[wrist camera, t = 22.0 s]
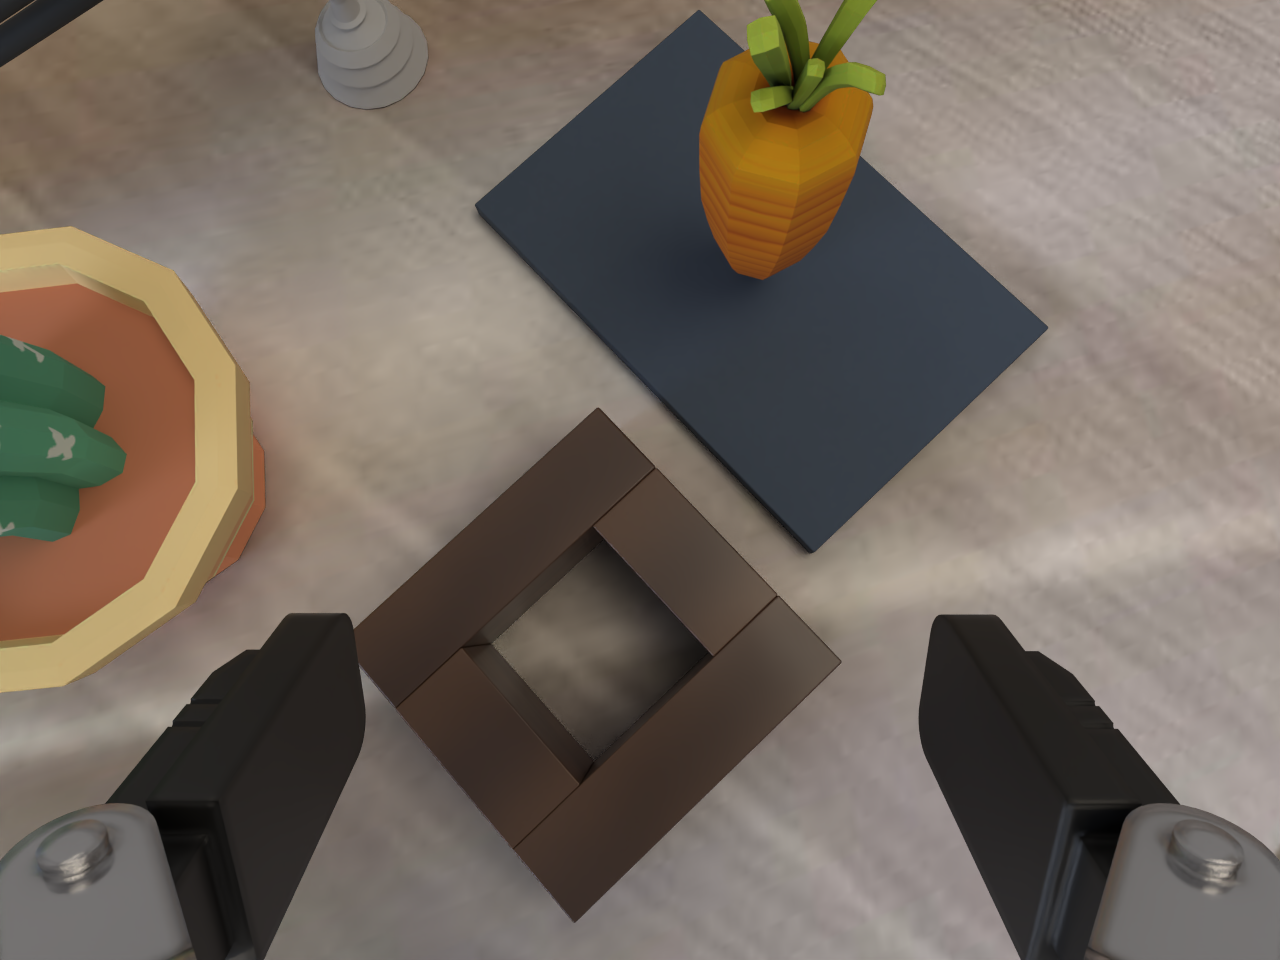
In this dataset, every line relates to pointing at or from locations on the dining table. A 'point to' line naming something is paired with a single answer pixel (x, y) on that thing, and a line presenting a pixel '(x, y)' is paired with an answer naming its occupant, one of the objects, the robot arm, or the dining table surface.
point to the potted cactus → (110, 454)
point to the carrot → (784, 137)
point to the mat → (758, 298)
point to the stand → (519, 721)
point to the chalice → (369, 52)
